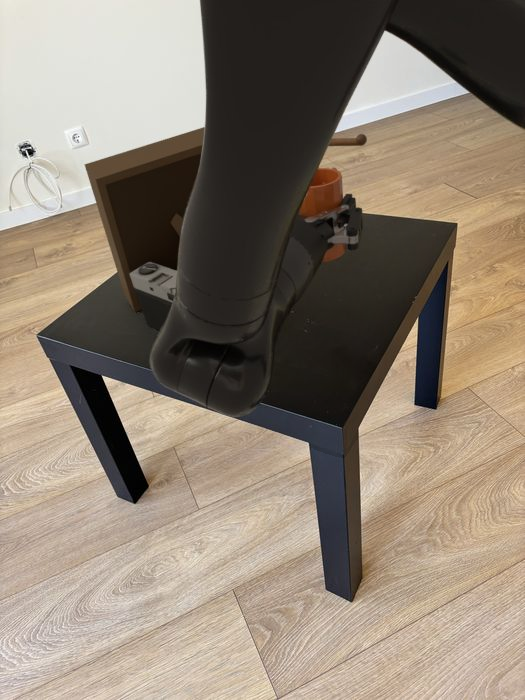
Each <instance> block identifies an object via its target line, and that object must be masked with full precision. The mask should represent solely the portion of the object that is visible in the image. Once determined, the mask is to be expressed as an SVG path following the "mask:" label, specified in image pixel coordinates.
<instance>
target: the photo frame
mask: <svg viewBox="0 0 525 700" xmlns="http://www.w3.org/2000/svg"><path fill="white" fill-rule="evenodd" d="M204 129H205V126H203V127H199V128H196V129H194V130H190V131H187V132H184V133H180V134H177V135H174V136H171V137H168V138H164V139H161V140H159V141H155V142H152V143H149V144H145V145H143V146H140V147H139V146H138V147H136V148H133V149H129V150H126V151H123V152H119V153H117V154H113V155H111V156H107V157H104V158H100V159H98V160H94V161H90V162H88V163H84V168H85V170H86V171H85V172H86V174H87V177H88V180H89V184H90V187H91V191H92V194H93V197H94V201H95V203H96V206H97V209H98V213H99V217H100V219H101V223H102V226H103V230H104V233H105V237H106V239H107V243H108V246H109V249H110V252H111V255H112V258H113V259H112V260H113V262H114V265H115V268H116V269H115V270H116V272H117V275H118V278H119V281H120V285H121V289H122V291H123V294H124V297H125V299H126V300H127V302H128V304H129V305H130V307H131V308H132V310H133V311H134V313H136V312H140V311H142V308H141V305H140V303H139V300H138V297H137V294H136V291H135V290H136V289H134V286H133V283H132V280H131V277H130V273H131V272H133V271H134V270H136V269H138V268H139V267H141V266H143V265H144V264H146V263H148V262H152V263H155V264H158V265H161V266H164V267H167V268H170V269H173V270H176V271H177V263H178V251H179V241H180V233H181V227H182V221H183V217H184V213H185V209H186V206H187V202H188V199H189V196H190V194H191V191H192V188H193V185H194V182H195V180H196V177H197V174H198V170H199V166H200V160H201V154H202V148H203V140H204Z"/></svg>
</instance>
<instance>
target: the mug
mask: <svg viewBox="0 0 525 700" xmlns="http://www.w3.org/2000/svg"><path fill="white" fill-rule="evenodd" d="M343 189H344V188H343V174H342V172H341V171H339V170H338V169H337V168H336V167H319V168H318V169H317V172H316V174H315V176H314V178H313V180H312V183H311V185H310V187H309V190H308V192H307V194H306V197H305V199H304V201H303V204H302V206H301V209H300V211H299V214H298V216H306V217H309V216H315V215H317V214H319V213H320V212H322V211H324V210H326V209H331V210H333V209H335V208H337V207H339V204H340V203H341V201H342V200H343V198H344V190H343ZM325 221H326V220H325ZM338 222H339V217H338ZM346 247H347V244H335V245H334V246H333V247H332V248H331V249H329V250H327V251H326V253H325V256H324V258H323V261H322V263H326V262H331V261H334V260H337V259H339V258H340V257H342V256H343V255H344V254H345V252H346Z"/></svg>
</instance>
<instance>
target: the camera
mask: <svg viewBox="0 0 525 700" xmlns="http://www.w3.org/2000/svg"><path fill="white" fill-rule="evenodd" d="M130 277H131V280H132V283H133V286H134V289H136V290H135V291H136V294H137V297H138V300H139V303H140V305H141V308H142V310H141V311H142V314H143V317H144V320H145V322H146V325H147V326H149V327H151V328H153V329H155V330H157V331H160V329H161V327H162V326H163V324H164V322H165V320H166V318H167V316H168V313H169V311H170V308H171V305H172V302H173V299H174V296H175V291H176V277H177V271H176V270H173V269H170V268H167V267H164V266H161V265H158V264H155V263H152V262H148V263H146V264H144V265H143V266H141V267H139V268H138V269H136V270H134V271H133V272H131V273H130Z"/></svg>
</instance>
